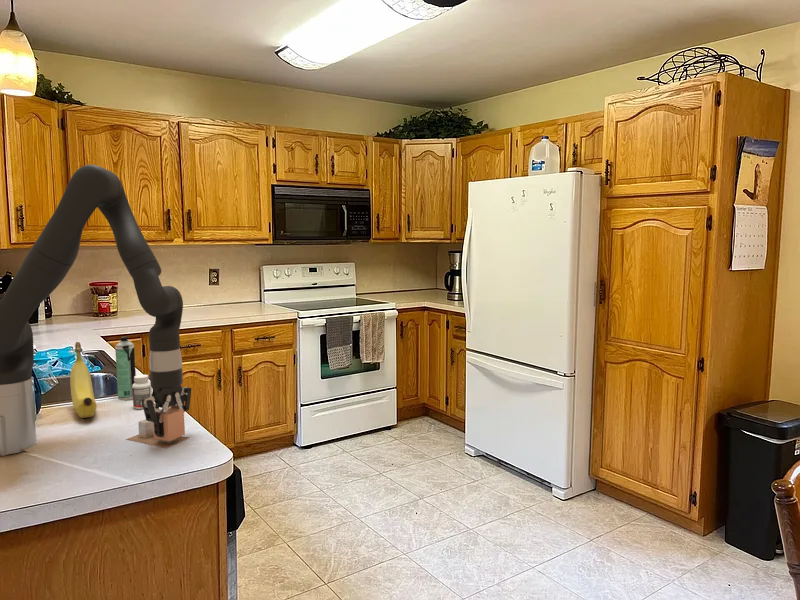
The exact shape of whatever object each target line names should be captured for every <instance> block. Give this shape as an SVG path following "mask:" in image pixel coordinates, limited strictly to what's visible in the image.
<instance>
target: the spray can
mask: <svg viewBox="0 0 800 600" xmlns="http://www.w3.org/2000/svg"><path fill="white" fill-rule="evenodd" d="M134 344H135V343H133V342H132V341H130V340H129V339H128V336H121V338H120V339H119V342H118V343H117V344H115V348H114V350H115V367H116V385H117V386H116V387H117V398H118V400H119V401H129V400H133V391H132V385H133V384H134V383H135V381H134V376H137V375H136V360H135V359H136V355H135V345H134Z"/></svg>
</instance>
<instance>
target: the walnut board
mask: <svg viewBox="0 0 800 600" xmlns="http://www.w3.org/2000/svg"><path fill="white" fill-rule="evenodd" d="M189 439H190V437H188V436H185V435H183V436H180V437H178V438H177V440H176V441H174V442H171V443H164V442H161V439H156V438H154V436H152V437H149V438H142V437H139V433H138V434H136V435H133V436H131V437H128V438H125V440H126V441H131V442H134V443H135V442H136V443H139V444H144V445H149V446H153V447H157V448H162V449H168V448H170V447H172V446H174V445H177V444H179V443H181V442H185V441H187V440H189Z"/></svg>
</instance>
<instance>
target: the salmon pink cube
mask: <svg viewBox="0 0 800 600" xmlns="http://www.w3.org/2000/svg"><path fill="white" fill-rule="evenodd" d="M159 414H160V413H158V417H159ZM163 418H164V419H163V424H164V436H163V437H157V436H156V435H155V433H154V422H153V434H154V438H156V439H161V440H165V441H171V440H173V439H175V438H178V437H180V436H185V435H186V429H185V427H186V425H185V412H184V409H177V408H171V407H169V408H168V409H167V413H165V414H163Z"/></svg>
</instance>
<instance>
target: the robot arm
mask: <svg viewBox="0 0 800 600" xmlns="http://www.w3.org/2000/svg"><path fill="white" fill-rule="evenodd" d="M70 177H71V178H70V180H69V182H68V183H67V186H66V188H65V190H64V193H63V194H62V197H61V199H60V201H59V203H58V205H57V206H56V209H55V210H54V212H53V214H52V215H51V217H50V218H49V220H48V222H47V223H46V224H45V226H44V228H43V229H42V231H41V233H40V234H39V236H38V237H37V239H36V240H35V242H34V243H33V245H32V247H31V248H30V250H29V251H28V253H27V255H25V257H24V259H23V261H22V264H21V265H20V267H19V268H18V271H17V272H16V273H15V275H14V277H13V278H12V280H11V282H10V284H9V286H8V288H7V289H6V291H5V293H4V294H3V295H2V297H1V298H0V456H2V457H5V456H7V455H12V454H18V453H22V452H25V449H28V448H31V447H33V446H35V445H37V434H36V433H37V432H36V430H37V429H36V419H35V418H36V417H35V404H34V403H35V402H34V392H33V377H32V372H33V368H34V363H35V362H34V360H35V356H34V355H35V353H34V351H35V349H34V335H33V334H34V333H33V329H32V326H31V323H30V322H29V320H30V318H31V317H32V315H33V313H34V312H35V311H36V309H37V308H39V306H40V305H41V304H42V303H43V302H44V301H45V300H46V299H47V298H48V297H49V296H50V295H51V294H53V292H54V291H55V290H56V289H57V288H58V286H59V285H60V284H61V283H62V282H63V280H64V279H65V278H66V276H67V275H68V273H69V271H70V269H71V268H72V266H73V265H74V263H75V261H76V259H77V257H78V254H79V250H80V247H81V240H82V234H83V231H84V228H85V226H86V224H87V222H88V221H89V219H90V217H92V215H93V214H94V212H95V211H96V209H97V208H98V210H99V211H100V212H101V214H102V215H103V217H104V218H105V219H106V221H107V223H108V225H109V227H110V229H111V231H112V234H113V238H114V240H115V245H116V249H117V253H118V254H119V256H120V258H121V261H122V262H123V265H124V266H125V268H126V270H127V271H128V273H129V275H130V277H131V278H132V281H133V284H134V290H135V292H136V296H137V299H138V301H139V302H138V303H139V304H140V307H141V308H142V309H143V311H144V312H145V313H147V314H148V315H149V316H150V317H153V318H155V321H154V324H153V325H152V327H150V329H149V332H148V342H149V343H148V344H149V345H148V347H149V357H148V359H149V360H148V361H149V365H148V366H149V380H150V381H149V382H150V384H151V388H152V395H151V397H150V398H148V399H142V406H143V409H142V410H143V413H144V416H145V419H146V420H147V421H150V422H154V433H155V435H156V436H157V437H163V436H164V424H163V419H164V418H163V414H165V413H167V409H168V408H169V407H171V408H177V409H184V413H185V412H188V411H189V410H190V406H191V405H190V404H191V398H192V387H188V386H182V385H183V382H184V377H183V358H182V352H181V341H180V339H181V337H180V328H181V323H182V317H183V311H184V310H183V309H184V302H183V301H184V300H183V296H182V294H181V292H180V291H179V290H178V289H177V288H176V287H174V286H172V285H166V286H165V285H164V286H163V285H162V282H161V279H160V277H159V276H161V274H162V267H161V265H160V263H159V261H158V260H157V258H156V256H155V254H154V252H153V251H152V248H151V247H150V246H149V245H150V244H149V243H148V242H147V239H146V238H145V237H144V235H143V232H142V231H141V228H140V227H139V224H138V222H137V220H136V217H135V216H134V213H133V211H132V208H131V206H130V203H129V200H128V198H127V194H126V192H125V189H124V186H123V183H122V181H121V180H120V178H119V177H118V176H117V174H115V173H114V172H112V171H111V170H109V169H107V168H104V167H102V166H99V165H97V164H85V165H83V166H81V167H78V169H77V170H75V172H74V173H73V175H72V176H70ZM158 413H160V414H159V417H158Z"/></svg>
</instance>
